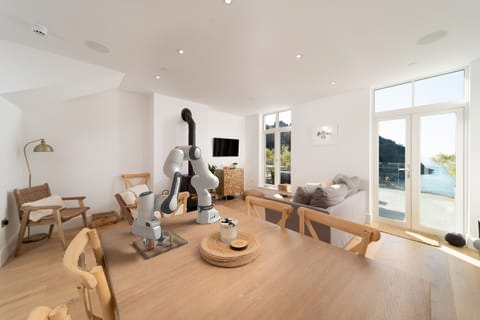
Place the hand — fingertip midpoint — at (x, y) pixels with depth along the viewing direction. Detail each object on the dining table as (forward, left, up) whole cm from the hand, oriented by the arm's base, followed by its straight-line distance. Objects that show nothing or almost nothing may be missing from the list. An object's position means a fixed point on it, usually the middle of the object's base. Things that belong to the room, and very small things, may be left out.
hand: (145, 243), depth 104 cm
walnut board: (-10, -2, -4) cm, 11 cm away
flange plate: (-7, -1, -2) cm, 7 cm away
